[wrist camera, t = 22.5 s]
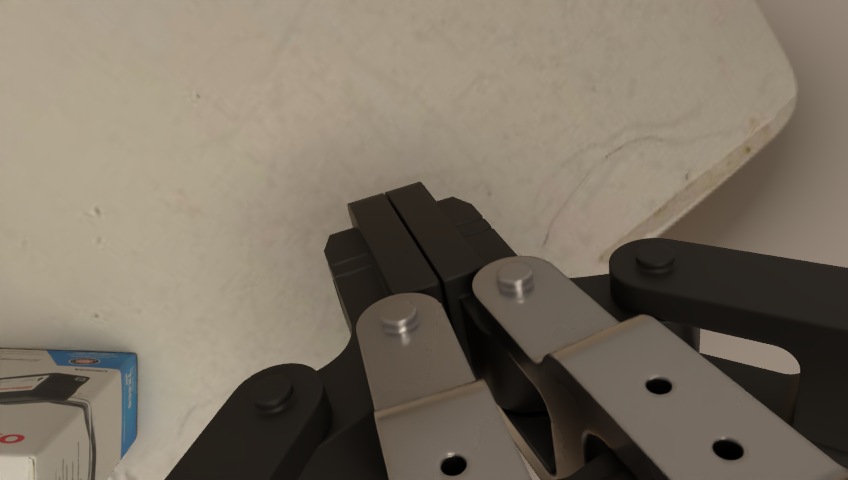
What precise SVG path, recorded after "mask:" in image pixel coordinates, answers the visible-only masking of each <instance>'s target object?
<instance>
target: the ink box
mask: <svg viewBox="0 0 848 480" xmlns="http://www.w3.org/2000/svg"><path fill="white" fill-rule="evenodd" d="M136 423H137V358H136V355H135V354H134V353H109V352H79V351H51V350H21V349H0V480H107V479H108V477H109V476H110V474H111V473H112V472H113V470H114V469H115V467H116V466H117V465H118V463H119V462H120V460H121V459H122V457H123V456H124V455H125V453H126V452H127V451H128V449H129V448H130V446H131V445H132V443H133V442H134V440H135V439H136Z"/></svg>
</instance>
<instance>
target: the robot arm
mask: <svg viewBox="0 0 848 480" xmlns="http://www.w3.org/2000/svg"><path fill="white" fill-rule="evenodd" d="M348 210H349V214H350V218H351V222H352V225H353V228H351V229H348V230H345V231H341V232H338V233H335V234H332V235H330V236H329V239H328V242H327V244H326V247H325V250H324V252H325V256H326V259H327V262H328V265H329V269H330V272H331V275H332V278H333V282H334V285H335V288H336V291H337V295H338V298H339V301H340V304H341V308H342V311H343V314H344V317H345V319H346V322H347V325H348V328H349V330H350V333H351V338H350V341H349V343H348V345H347V346H346V348H345V349H344V350H343V351H342V353H341V354H340V355H339V356H338V357H337V358H335V359H334V360H333V361H332V362H330V363H329V364H327V365H326V366H324V367H323V368H321V369H319V370H318V371H316V370H314V369H313V368H311V367H309V366H306V365H303V364H295V363H289V364H281V365H276V366H272V367H269V368H266V369H264V370H262V371H260V372H258V373H256V374H254V375H252V376H251V377H249V378H248V379H247V380H245V381H244V382H243V383H242V384H241V385H239V387H238V388H237V389H236V390H235V391H234V392H233V393H232V395H231V396H230V397H229V399H228V400H227V401H226V402H225V404H224V405H223V406H222V407H221V409H220V410H219V411H218V412H217V414H216V415H215V416H214V418H213V419H212V420H211V421H210V423H209V424H208V425H207V426H206V428H205V429H204V430H203V431H202V433H201V434H200V435H199V437H198V438H197V439H196V440H195V442H194V443H193V444H192V445H191V447H190V448H189V449H188V451H187V452H186V453H185V454H184V456H183V457H182V458H181V459H180V461H179V462H178V463H177V464H176V466H175V467H174V468H173V470H172V471H171V472H170V473H169V475H168V476H167V477H166V478H165V480H532V479H531V477H530V475H529V473H528V470H527V468H526V466H525V464H524V462H523V460H522V458H521V456H520V454H519V451H518V449H519V450H520V452H521V453H522V454H523V456H524V457H525V459H526V460H527V461H528V463H529V464H530V466H531V467H532V469H534V471H535V473H536V474H537V476H538V477H539V478H540V480H848V268H845V267H838V266H832V265H826V264H819V263H813V262H808V261H801V260H795V259H789V258H783V257H777V256H770V255H763V254H757V253H752V252H745V251H739V250H733V249H727V248H721V247H715V246H708V245H702V244H695V243H690V242H684V241H677V240H671V239H663V238H648V239H641V240H636V241H632V242H629V243H627V244H624V245H623V246H621V247H619V248H618V249H617V250H615V251H614V252H613V254H612V255H611V257H610V260H609V274H604V275H596V276H588V277H580V278H567V277H566V276H565V275H564V274H563V273H562V272H561V271H559V270H558V269H557V268H556V267H555V266H554V265H552V264H551V263H549V262H547V261H545V260H543V259H540V258H536V257H531V256H517V255H516V254H515V252H514V251H513V250H512V249H511V248H510V247H509V246H508V245H507V243H506V242H505V241H504V240H503V239H502V238H501V237H500V236H499V235H498V233H497V232H496V231H495V230H494V229H492V228H491V226H490V224H489V223H488V222H487V221H486V220H485V219H483V217H482V215H481V214H480V213H479V212H478V211H477V210H476V209H475V208H474V206H473V205H472V204H470V203H467V202H465V201H462V200H460V199H457V198H454V197H450V198H447V199H443V200H440V201H437V202H436V200H435V199H434V198H433V197H432V195H431V194H430V193H429V192H428V190H427V189H426V188H425V186H424V185H423V184H422V183H421V182H417V183H414V184H411V185H407V186H404V187H401V188H398V189H394V190H391V191H388V192H385V195H384V194H383V193H381V194H378V195H375V196H371V197H368V198H365V199H362V200H358V201H355V202H352V203H349V204H348ZM700 328H701V329H705V330H710V331H714V332H718V333H722V334H727V335H731V336H736V337H740V338H744V339H749V340H753V341H757V342H762V343H766V344H770V345H774V346H778V347H780V348H783V349H785V350H786V351H788V352H789V353H791V354H792V355H793V356H794V357H795V358H796V360H797V361H798V363H799V365H800V373H799V374H792V375H790V374H783V373H778V372H774V371H770V370H766V369H762V368H758V367H754V366H750V365H746V364H742V363H738V362H734V361H730V360H726V359H722V358H718V357H714V356H710V355H706V354H702V353H699V345H700ZM516 446H517V447H518V449H517V447H516Z"/></svg>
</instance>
